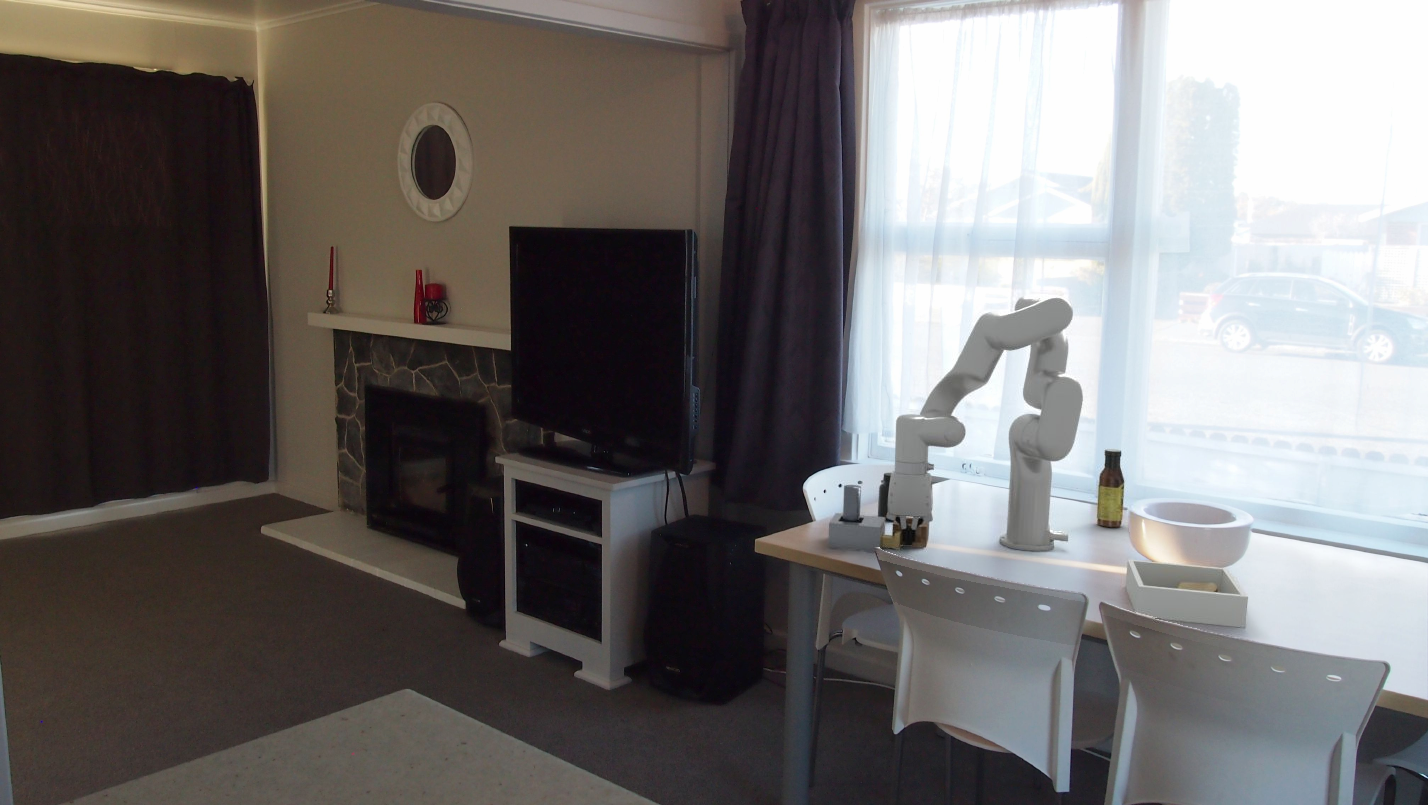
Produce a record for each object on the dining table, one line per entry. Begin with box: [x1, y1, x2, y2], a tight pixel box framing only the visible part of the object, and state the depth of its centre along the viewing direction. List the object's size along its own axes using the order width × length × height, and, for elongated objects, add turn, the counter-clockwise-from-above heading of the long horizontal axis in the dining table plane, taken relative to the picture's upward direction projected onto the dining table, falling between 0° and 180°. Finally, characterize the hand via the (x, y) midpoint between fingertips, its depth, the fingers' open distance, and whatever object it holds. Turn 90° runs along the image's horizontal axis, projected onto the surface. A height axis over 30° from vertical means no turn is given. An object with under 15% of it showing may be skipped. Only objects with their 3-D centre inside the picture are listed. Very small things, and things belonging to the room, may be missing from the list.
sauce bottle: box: [1096, 448, 1125, 528], centre depth 264 cm, size 7×6×20 cm
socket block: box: [827, 512, 886, 553], centre depth 242 cm, size 12×10×6 cm
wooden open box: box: [891, 516, 930, 549], centre depth 246 cm, size 8×8×5 cm
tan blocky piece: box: [881, 531, 902, 551], centre depth 241 cm, size 9×4×4 cm, turn 74°
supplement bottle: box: [877, 472, 894, 522], centre depth 267 cm, size 7×7×12 cm
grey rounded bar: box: [842, 484, 862, 523], centre depth 242 cm, size 4×4×14 cm
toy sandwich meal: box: [1177, 582, 1218, 593], centre depth 203 cm, size 12×14×5 cm
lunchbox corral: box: [1125, 559, 1249, 629], centre depth 202 cm, size 19×19×6 cm
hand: (908, 544), depth 239 cm, fingers closed
